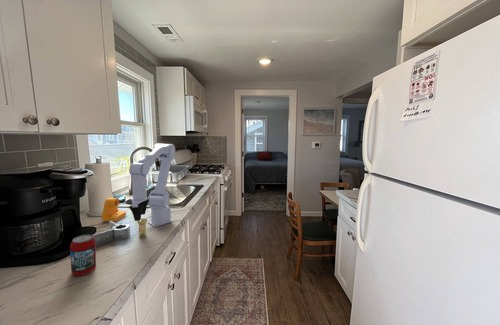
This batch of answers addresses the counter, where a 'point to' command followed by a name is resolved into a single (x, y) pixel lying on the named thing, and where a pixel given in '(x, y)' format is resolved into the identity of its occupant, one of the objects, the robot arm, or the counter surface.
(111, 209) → the bracket
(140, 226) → the hinge pin
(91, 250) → the beverage can
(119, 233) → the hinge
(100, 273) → the counter surface
